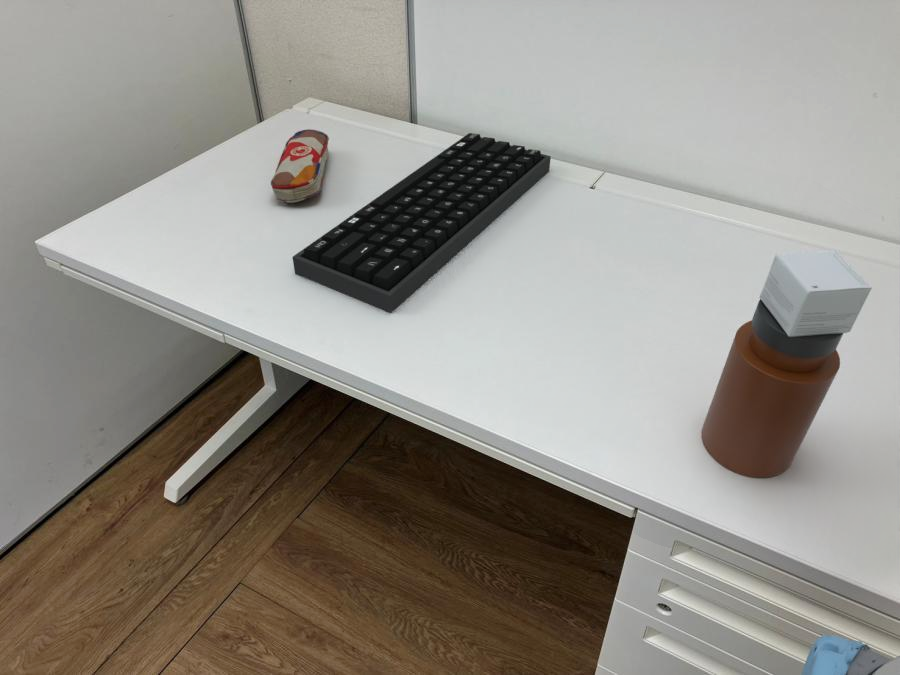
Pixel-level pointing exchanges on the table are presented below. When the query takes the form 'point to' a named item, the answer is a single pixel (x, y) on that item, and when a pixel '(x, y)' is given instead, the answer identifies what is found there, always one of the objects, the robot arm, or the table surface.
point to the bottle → (768, 396)
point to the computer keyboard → (421, 221)
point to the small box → (814, 293)
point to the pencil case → (301, 166)
